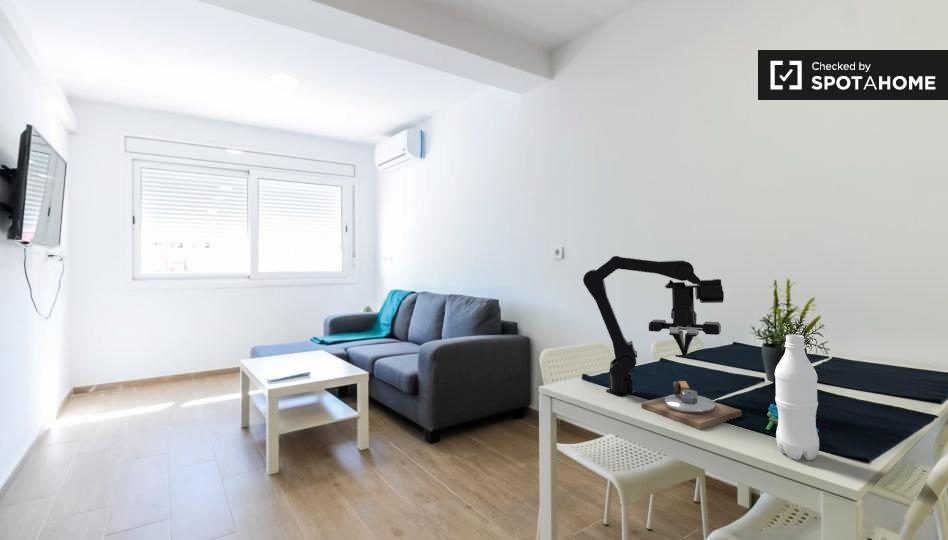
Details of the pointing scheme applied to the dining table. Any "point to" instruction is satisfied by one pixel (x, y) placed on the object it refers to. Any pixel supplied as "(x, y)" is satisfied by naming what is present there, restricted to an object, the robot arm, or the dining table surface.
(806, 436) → the water bottle
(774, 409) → the green blue toy figure
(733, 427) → the dining table surface
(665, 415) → the base board
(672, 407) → the flange
